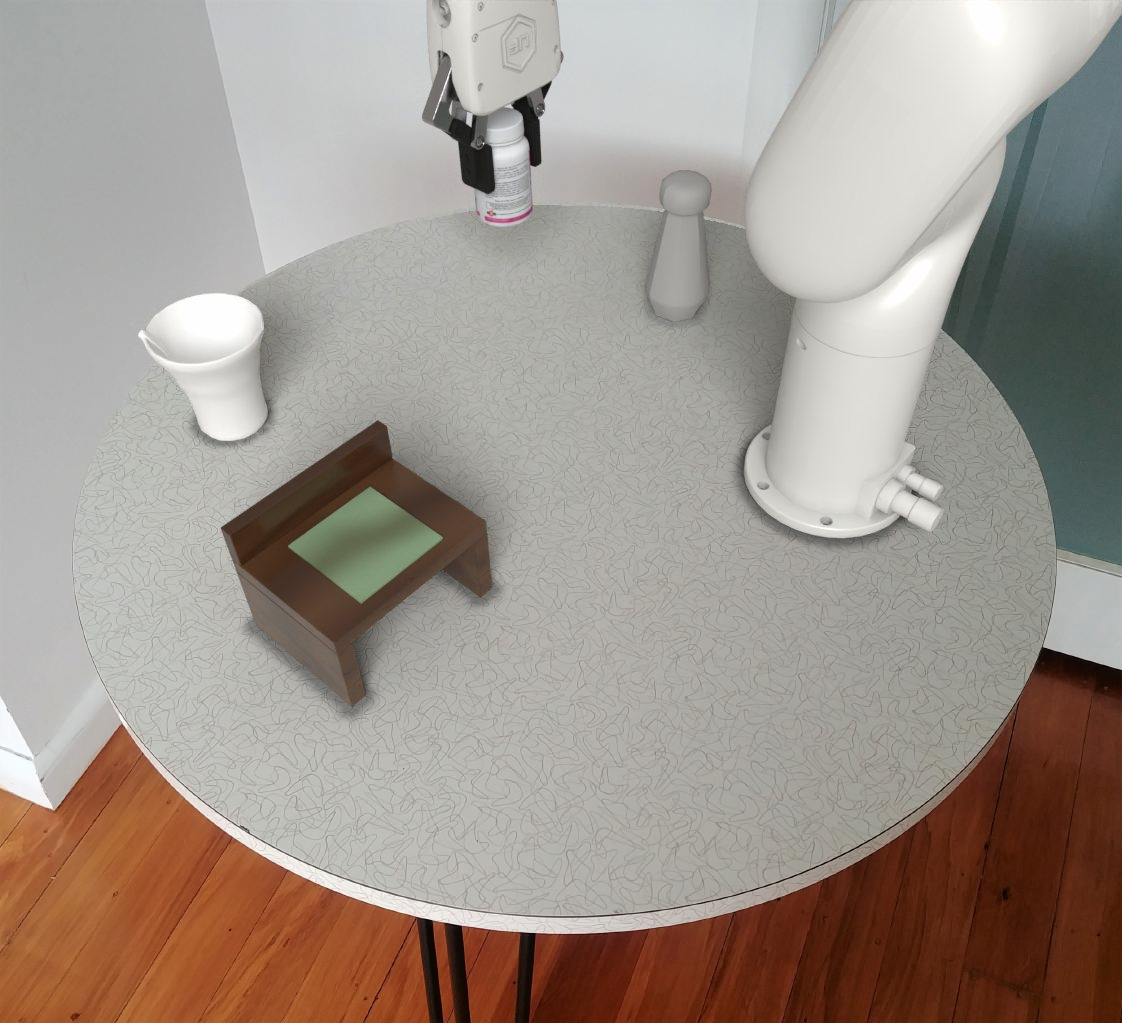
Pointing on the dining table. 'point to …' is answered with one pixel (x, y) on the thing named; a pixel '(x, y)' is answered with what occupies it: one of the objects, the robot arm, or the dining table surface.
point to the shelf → (349, 553)
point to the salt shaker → (680, 248)
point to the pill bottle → (507, 172)
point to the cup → (213, 360)
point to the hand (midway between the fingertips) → (502, 172)
